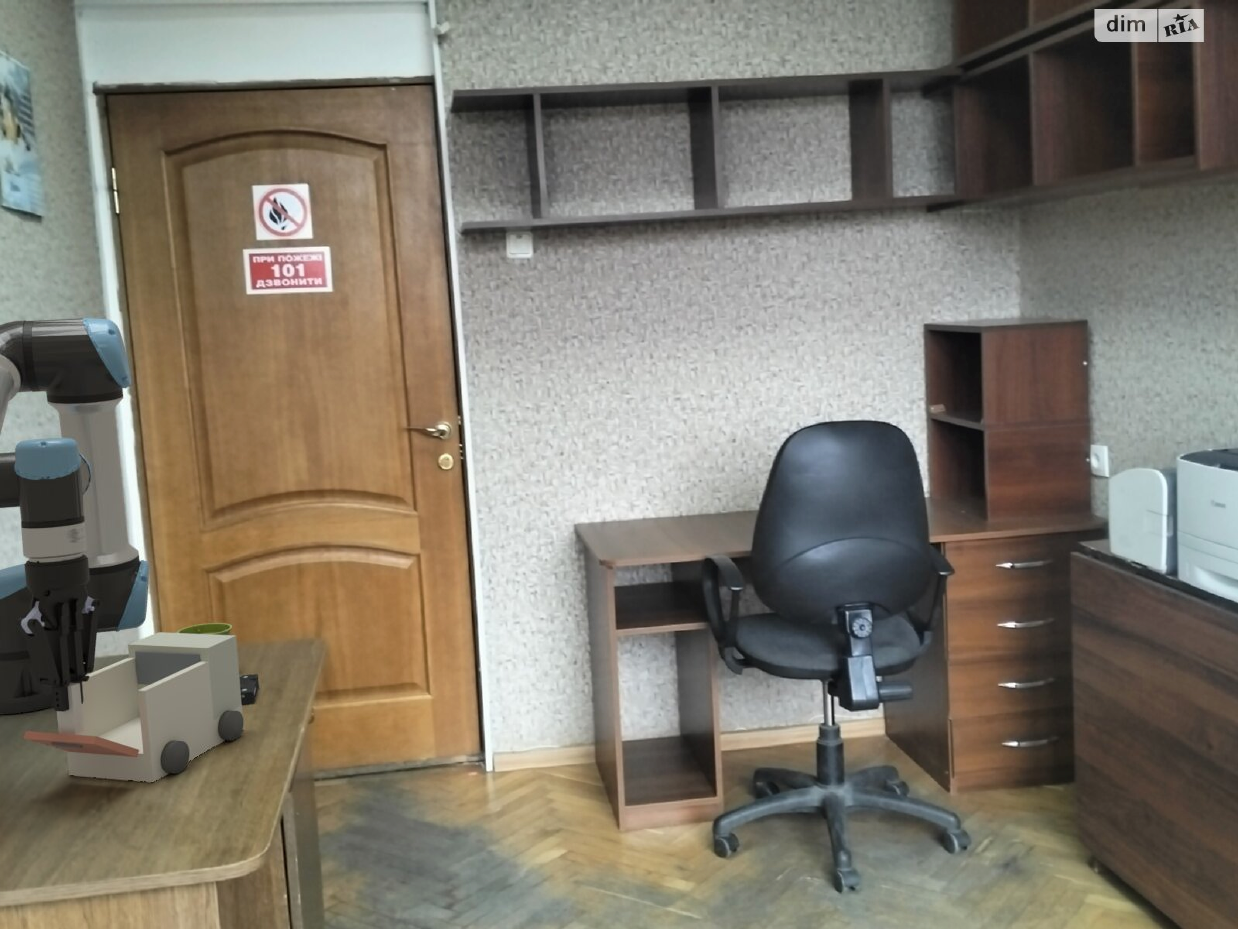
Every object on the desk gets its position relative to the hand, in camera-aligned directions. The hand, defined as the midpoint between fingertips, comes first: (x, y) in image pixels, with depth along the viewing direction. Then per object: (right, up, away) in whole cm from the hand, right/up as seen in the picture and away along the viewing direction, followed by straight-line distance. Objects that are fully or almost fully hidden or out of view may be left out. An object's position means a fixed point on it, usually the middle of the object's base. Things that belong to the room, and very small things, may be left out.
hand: (71, 732), depth 152 cm
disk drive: (+4, -5, +42) cm, 42 cm away
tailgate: (+2, -4, +6) cm, 8 cm away
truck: (+5, -7, +17) cm, 19 cm away
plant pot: (-2, -3, +55) cm, 55 cm away
